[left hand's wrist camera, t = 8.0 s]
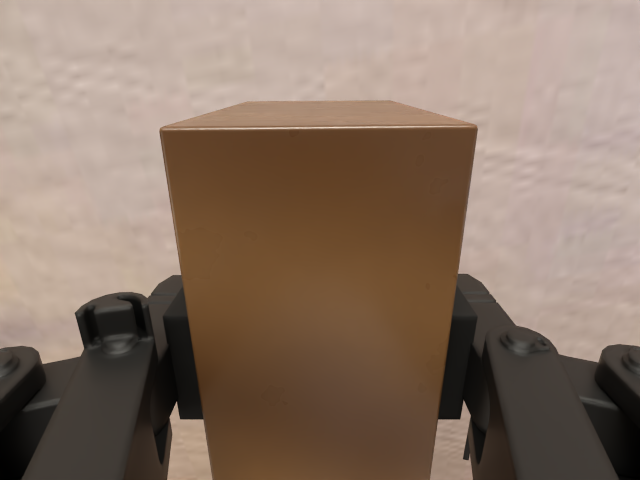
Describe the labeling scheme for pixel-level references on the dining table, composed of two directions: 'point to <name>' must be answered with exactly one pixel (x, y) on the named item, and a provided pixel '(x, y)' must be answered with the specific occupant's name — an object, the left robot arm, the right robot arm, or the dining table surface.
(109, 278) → the dining table surface
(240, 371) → the beam
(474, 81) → the dining table surface
